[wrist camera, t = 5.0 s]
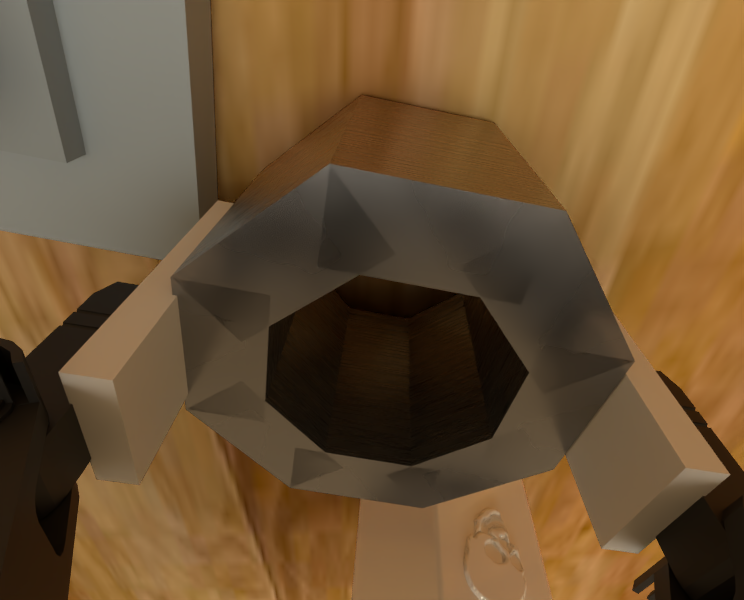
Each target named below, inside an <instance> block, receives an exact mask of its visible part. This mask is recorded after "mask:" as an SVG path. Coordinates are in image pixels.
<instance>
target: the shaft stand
mask: <svg viewBox="0 0 744 600" xmlns="http://www.w3.org/2000/svg"><path fill="white" fill-rule="evenodd" d="M217 201H218V190H217V164H216V137H215V111H214V85H213V59H212V32H211V6H210V0H0V230H1V231H7V232H12V233H18V234H23V235H29V236H34V237H40V238H45V239H50V240H56V241H61V242H67V243H72V244H78V245H83V246H89V247H94V248H100V249H105V250H111V251H116V252H121V253H127V254H132V255H138V256H143V257H149V258H154V259H160V260H163V259H164V258H165V257H166V256H167V255H168V253H169V252H170V251H171V250H172V249H173V248H174V247H175V246H176V245H177V244H178V243H179V242H180V241H181V239H182V238H183V237H184V236H185V235H186V234H187V233H188V232H189V231H190V230H191V229H192V228H193V227H194V225H195V224H196V223H197V222H198V221H199V220H200V219H201V218H202V217H203V216H204V215H205V214H206V213H207V211H208V210H209V209H210V208H211V207H212V206H213V205H214V204H215V203H216V202H217Z"/></svg>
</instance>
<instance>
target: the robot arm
mask: <svg viewBox="0 0 744 600" xmlns="http://www.w3.org/2000/svg"><path fill="white" fill-rule="evenodd" d="M233 204H234V203H230V202H224V201H219V200H218V201H217V202H216V203H215V204H214V205H213V206H212V207H211V208H210V209H209V210H208V211H207V213H206V214H205V215H204V216H203V217H202V218H201V219H200V220H199V221H198V222H197V223H196V224H195V225H194V227H193V228H192V229H191V230H190V231H189V232H188V233H187V234H186V235H185V236H184V237H183V238H182V239H181V241H180V242H179V243H178V244H177V245H176V246H175V247H174V248H173V249H172V250H171V251H170V252H169V253H168V255H167V256H166V257H165V258H164V259H163V260H162V261H161V262H160V263H159V264H158V265H157V266H156V267H155V269H154V270H153V271H152V272H151V273H150V274H149V275H148V276H147V277H146V278H145V279H144V280H143V281H142V283H141V284H140V285H134V284H128V283H122V282H116V283H114V284H112V285H110V286H108V287H106V288H104V289H102V290H100V291H98V292H95V293H94V294H92V295H91V296H90V297H89V298H88V299H87V300H86V301H85V302H84V303H83V304H82V305H81V306H80V307H79V308H78V309H77V312H73V313H72V314H71V315H70V316H69V317H68V318H67V319H66V320H65V321H64V322H63V325H62V326H59V327H57V328H56V329H55V330H54V331H53V332H52V333H51V334H50V335H49V336H48V337H47V338H46V339H45V340H44V341H43V342H42V343H40V344H39V345H38V346H37V347H36V348H35V349H34V350H33V351H32V352H31V353H30V354H29V355H28V356H27V357H26V358H25V356H24V353H23V351H22V349H20V348H19V347H18V346H17V345H16V344H15V343H14V342H13V341H9V340H5V339H1V338H0V600H68V592H69V584H70V575H71V566H72V557H73V548H74V539H75V530H76V521H77V513H78V504H79V492H78V485H77V483H76V481H77V480H78V478H79V477H80V475H81V474H82V472H83V471H84V469H85V468H86V466H87V465H88V463H89V462H90V463H91V465H92V468H93V471H94V474H95V477H96V479H98V480H106V481H113V482H120V483H128V484H135V485H140V483H141V481H142V479H143V477H144V476H145V474H146V472H147V470H148V468H149V466H150V464H151V463H152V461H153V459H154V457H155V455H156V453H157V451H158V450H159V448H160V446H161V444H162V442H163V440H164V438H165V436H166V435H167V433H168V431H169V429H170V427H171V425H172V423H173V422H174V420H175V418H176V416H177V414H178V412H179V410H180V409H181V407H182V405H183V403H184V401H185V399H186V397H187V395H188V387H187V378H186V369H185V360H184V352H183V343H182V334H181V325H180V317H179V308H178V299H177V296H176V295H172V287H171V278H170V277H171V276H172V275H173V274H174V272H175V271H176V270H177V269H178V268H179V267H180V265H181V264H182V263H183V262H184V261H185V260H186V258H187V257H188V256H189V255H190V254H191V253H192V251H193V250H194V249H195V248H196V247H197V246H198V245H199V243H200V242H201V241H202V240H203V239H204V238H205V236H206V235H207V234H208V233H209V232H210V231H211V229H212V228H213V227H214V226H215V225H216V224H217V222H218V221H219V220H220V219H221V218H222V217H223V215H224V214H225V213H226V212H227V211H228V210H229V209H230V207H231V206H232V205H233ZM613 314H614V313H613ZM614 316H615V314H614ZM615 319H616V321H617V323H618V325H619V327H620V329H621V332H622V334H623V336H624V338H625V340H626V343H627V345H628V347H629V349H630V351H631V353H632V356H633V358H634V360H635V362H634V363H633V365H632V366H631V367H630V369H629V370H628V371H627V373H626V374H625V375H624V377H623V378H622V379H621V380H620V382H619V383H618V384H617V386H616V387H615V388H614V390H613V391H612V392H611V394H610V395H609V396H608V398H607V399H606V400H605V402H604V403H603V404H602V406H601V407H600V408H599V410H598V411H597V412H596V414H595V415H594V416H593V418H592V419H591V420H590V422H589V423H588V424H587V426H586V427H585V428H584V430H583V431H582V432H581V434H580V435H579V436H578V438H577V439H576V440H575V442H574V443H573V444H572V446H571V447H570V448H569V449H568V451H567V452H566V453H565V455H566V458H567V460H568V463H569V465H570V468H571V471H572V473H573V476H574V478H575V481H576V484H577V486H578V489H579V491H580V494H581V497H582V499H583V502H584V504H585V507H586V510H587V512H588V515H589V517H590V520H591V523H592V525H593V528H594V530H595V533H596V536H597V538H598V541H599V543H600V546H601V548H602V549H609V550H616V551H623V552H631V553H639V552H640V551H642V550H643V549H644V548H645V547H646V546H648V545H649V544H650V543H651V542H652V541H653V540H655V539H657V541H658V543H659V545H660V547H661V549H662V551H663V553H664V555H665V557H664V558H662V559H661V560H660V561H658V562H657V563H656V564H655V565H653V566H652V567H651V568H650V569H648V570H647V571H646V572H645V573H643V574H642V575H641V576H640V577H638V578H637V579H636V580H635V581H634V585H633V589H632V590H633V591H634V592H636V593H638V594H639V593H640V592H641V591H643V590H644V589H645V588H647V587H648V586H649V585H651V584H652V583H653V582H654V587H655V590H653V591H652V592H651V593H650V594H649V595H648V596H647V599H648V600H744V471H743V470H742V469H741V467H740V466H739V465H738V463H737V462H736V461H735V459H734V458H733V457H732V456H731V454H730V453H729V452H728V450H727V449H726V448H725V446H724V445H723V444H722V442H721V441H720V440H719V438H718V437H717V436H716V434H715V433H714V432H713V430H712V429H711V428H708V427H707V423H706V421H705V420H704V419H703V417H702V416H701V415H700V413H699V412H696V411H695V407H694V405H693V404H692V403H691V401H690V400H689V399H688V397H687V396H686V395H685V393H684V392H683V391H682V389H680V388H679V387H678V386H677V385H676V384H675V383H674V382H672V381H671V380H670V379H669V378H668V377H667V376H665V375H664V374H663V373H662V372H661V371H655V370H654V368H653V367H652V366H651V364H650V363H649V361H648V360H647V359H646V357H645V356H644V355H643V353H642V352H641V350H640V349H639V348H638V346H637V345H636V343H635V342H634V341H633V339H632V338H631V337H630V335H629V334H628V332H627V331H626V330H625V328H624V327H623V326H622V324H621V323H620V321H619V320H618V319H617V317H616V316H615Z"/></svg>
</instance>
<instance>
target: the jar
mask: <svg viewBox="0 0 744 600" xmlns="http://www.w3.org/2000/svg"><path fill="white" fill-rule="evenodd" d="M351 600H553V599H552V595H551V591H550V587H549V583H548V579H547V575H546V571H545V567H544V563H543V559H542V555H541V551H540V547H539V543H538V539H537V535H536V531H535V527H534V524H533V520H532V516H531V512H530V508H529V504H528V500H527V496H526V492H525V488H524V484H523V480H522V479H520V480H516V481H513V482H510V483H506V484H503V485H500V486H496V487H493V488H489V489H486V490H483V491H479V492H476V493H473V494H469V495H466V496H462V497H459V498H456V499H452V500H449V501H446V502H442V503H439V504H436V505H432V506H429V507H425V508H417V507H411V506H404V505H398V504H392V503H385V502H379V501H372V500H366V499H360V507H359V519H358V530H357V541H356V553H355V564H354V576H353V587H352V598H351Z"/></svg>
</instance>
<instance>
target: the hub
mask: <svg viewBox="0 0 744 600" xmlns="http://www.w3.org/2000/svg"><path fill="white" fill-rule="evenodd" d="M359 275H363V276H369V277H374V278H379V279H385V280H390V281H395V282H401V283H406V284H412V285H417V286H422V287H428V288H433V289H439V290H444V291H449V292H455V293H459V294H457V295H455V296H453V297H451V298H449V299H447V300H445V301H443V302H441V303H439V304H437V305H435V306H433V307H431V308H429V309H427V310H425V311H423V312H421V313H419V314H417V315H415V316H413V317H411V318H409V319H407V318H401V317H396V316H390V315H385V314H379V313H374V312H368V311H363V310H357V309H352V308H349V306H348V305H347V304H346V303H345V302H344V301H343V300H342V298H341V297H340V296H339V295H338V294H337V293H336V291H335V290H334V289H336V288H337V287H339V286H341V285H343V284H345V283H346V282H348V281H350V280H352V279H353V278H355V277H357V276H359ZM170 278H171V287H172V295H176V296H177V299H178V308H179V317H180V325H181V334H182V343H183V352H184V360H185V369H186V378H187V387H188V395H187V397H186V399H185V406H186V410H187V411H189V412H190V413H191V414H193V415H194V416H195V417H197V418H198V419H199V420H201V421H202V422H203V423H205V424H206V425H207V426H209V427H210V428H211V429H213V430H214V431H215V432H217V433H218V434H219V435H221V436H222V437H223V438H225V439H226V440H227V441H229V442H230V443H231V444H233V445H234V446H235V447H237V448H238V449H239V450H241V451H242V452H243V453H245V454H246V455H247V456H249V457H250V458H251V459H253V460H254V461H255V462H257V463H258V464H259V465H260V466H262V467H263V468H264V469H266V470H267V471H268V472H270V473H271V474H272V475H274V476H275V477H276V478H278V479H279V480H280V481H282V482H283V483H284V484H286V485H287V486H288V487H290V488H295V489H301V490H308V491H314V492H321V493H327V494H334V495H340V496H347V497H353V498H359V499H366V500H372V501H379V502H385V503H392V504H398V505H404V506H411V507H417V508H425V507H429V506H432V505H436V504H439V503H442V502H446V501H449V500H452V499H456V498H459V497H462V496H466V495H469V494H473V493H476V492H479V491H483V490H486V489H489V488H493V487H496V486H500V485H503V484H506V483H510V482H513V481H516V480H520V479H523V478H526V477H530V476H533V475H537V474H540V473H543V472H547V471H550V470H553V469H554V468H555V467H556V465H557V464H558V463H559V461H560V460H561V459H562V457H563V456H564V455H565V453H566V452H567V451H568V449H569V448H570V447H571V446H572V444H573V443H574V442H575V440H576V439H577V438H578V436H579V435H580V434H581V432H582V431H583V430H584V428H585V427H586V426H587V424H588V423H589V422H590V420H591V419H592V418H593V416H594V415H595V414H596V412H597V411H598V410H599V408H600V407H601V406H602V404H603V403H604V402H605V400H606V399H607V398H608V396H609V395H610V394H611V392H612V391H613V390H614V388H615V387H616V386H617V384H618V383H619V382H620V380H621V379H622V378H623V377H624V375H625V374H626V373H627V371H628V370H629V369H630V367H631V366H632V365H633V363H634V362H635V360H634V358H633V356H632V353H631V351H630V349H629V347H628V345H627V343H626V340H625V338H624V336H623V334H622V332H621V329H620V327H619V325H618V323H617V321H616V319H615V316H614V314H613V312H612V310H611V308H610V305H609V303H608V301H607V299H606V297H605V295H604V292H603V290H602V288H601V286H600V284H599V281H598V279H597V277H596V275H595V273H594V271H593V268H592V266H591V264H590V262H589V260H588V257H587V255H586V253H585V251H584V249H583V247H582V244H581V242H580V240H579V238H578V236H577V233H576V231H575V229H574V227H573V225H572V223H571V220H570V218H569V216H568V214H567V212H566V210H565V209H564V208H563V206H562V205H561V204H560V203H559V202H558V200H557V199H556V198H555V197H554V195H553V194H552V193H551V192H550V191H549V189H548V188H547V187H546V186H545V184H544V183H543V182H542V181H541V179H540V178H539V177H538V176H537V175H536V173H535V172H534V171H533V170H532V168H531V167H530V166H529V165H528V164H527V162H526V161H525V160H524V159H523V157H522V156H521V155H520V154H519V153H518V151H517V150H516V149H515V148H514V146H513V145H512V144H511V143H510V141H509V140H508V139H507V138H506V137H505V135H504V134H503V133H502V132H501V130H500V129H499V128H498V127H497V126H496V124H495V123H493V122H488V121H483V120H479V119H474V118H469V117H464V116H460V115H455V114H450V113H445V112H441V111H436V110H431V109H426V108H422V107H417V106H412V105H407V104H403V103H398V102H393V101H388V100H384V99H379V98H374V97H369V96H365V95H361V96H359V97H358V98H357V99H356V100H354V101H353V102H352V103H350V104H349V105H348V106H346V107H345V108H344V109H342V110H341V111H340V112H338V113H337V114H336V115H335V116H333V117H332V118H331V119H329V120H328V121H327V122H325V123H324V124H323V125H321V126H320V127H319V128H317V129H316V130H315V131H314V132H312V133H311V134H310V135H308V136H307V137H306V138H304V139H303V140H302V141H300V142H299V143H298V144H296V145H295V146H294V147H293V148H291V149H290V150H289V151H287V152H286V153H285V154H283V155H282V156H281V157H279V158H278V159H277V160H275V161H274V162H273V163H272V164H270V165H269V166H268V167H266V168H265V169H264V170H262V171H261V173H260V174H259V175H258V176H257V177H256V178H255V179H254V181H253V182H252V183H251V184H250V185H249V186H248V188H247V189H246V190H245V191H244V192H243V193H242V195H241V196H240V197H239V198H238V199H237V200H236V202H235V203H234V204H233V205H232V206H231V207H230V209H229V210H228V211H227V212H226V213H225V214H224V215H223V217H222V218H221V219H220V220H219V221H218V222H217V224H216V225H215V226H214V227H213V228H212V229H211V231H210V232H209V233H208V234H207V235H206V236H205V238H204V239H203V240H202V241H201V242H200V243H199V245H198V246H197V247H196V248H195V249H194V250H193V251H192V253H191V254H190V255H189V256H188V257H187V258H186V260H185V261H184V262H183V263H182V264H181V265H180V267H179V268H178V269H177V270H176V271H175V272H174V274H173V275H172V276H171V277H170Z"/></svg>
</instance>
